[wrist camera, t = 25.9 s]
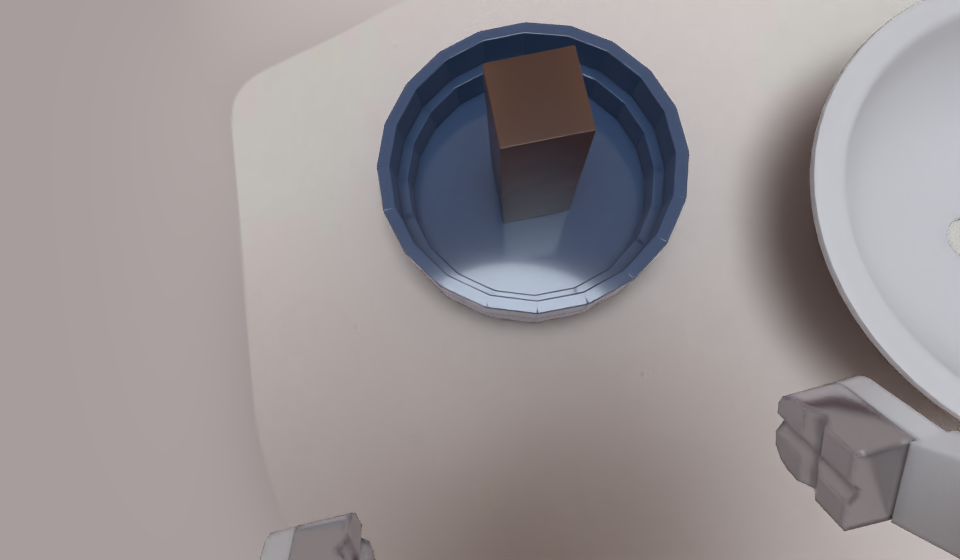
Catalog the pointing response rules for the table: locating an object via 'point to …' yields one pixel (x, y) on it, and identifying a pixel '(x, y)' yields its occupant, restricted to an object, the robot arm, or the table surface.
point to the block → (537, 130)
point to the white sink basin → (897, 194)
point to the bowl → (543, 239)
